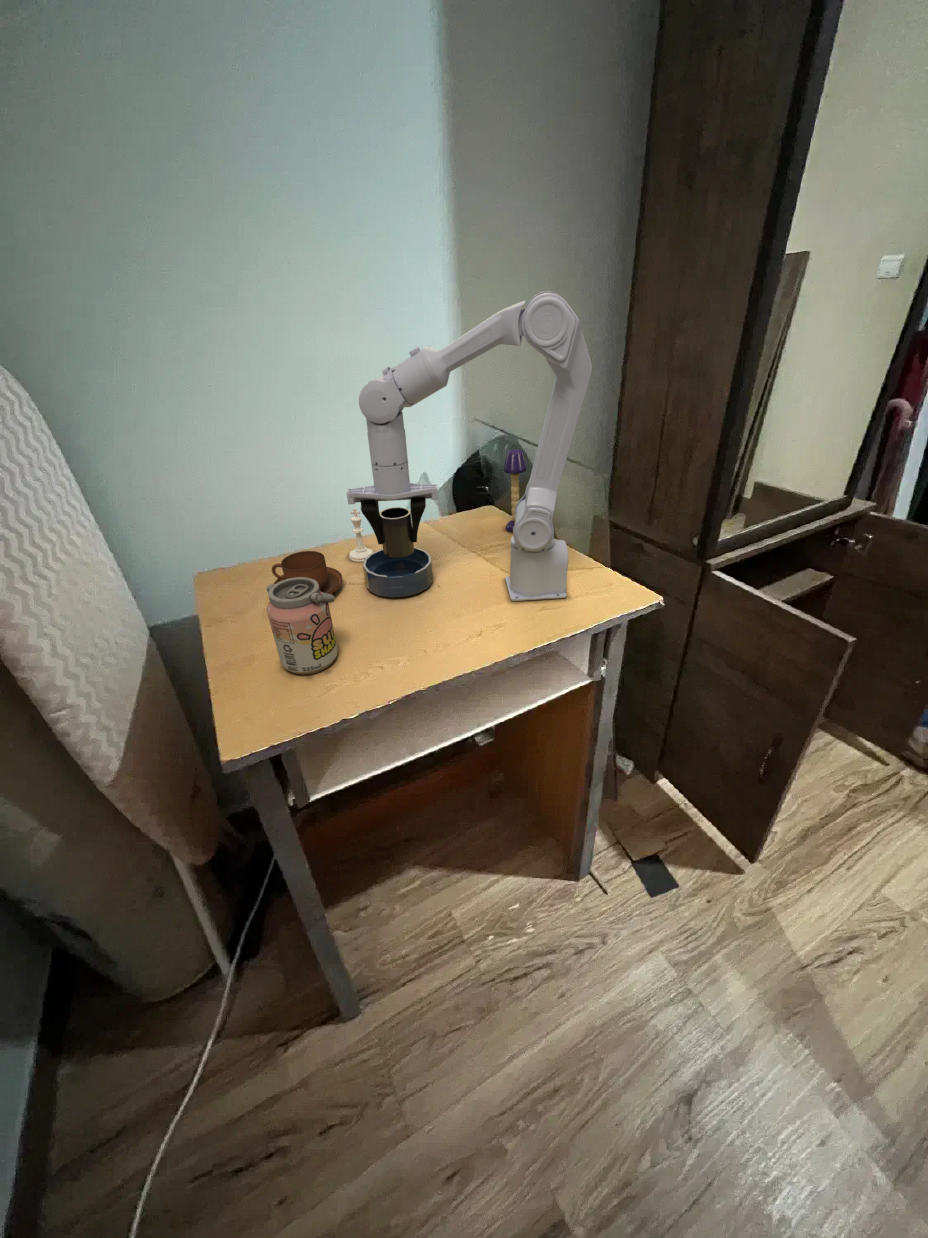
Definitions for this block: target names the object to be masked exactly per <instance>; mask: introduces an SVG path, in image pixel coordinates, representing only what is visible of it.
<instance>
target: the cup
mask: <svg viewBox="0 0 928 1238" xmlns="http://www.w3.org/2000/svg"><path fill="white" fill-rule="evenodd" d="M379 521H380V529H381V536H382V544H381V545H382V549H383V551H384V554H385V555H386V556H388V557H391V558H402V557H406V556H409V555H411V554H412V553H413V552H414V547H415V542H413V539H412V518H411V509H410V508H407V507H402V506H393V507H387V508H384V509H382V510H380V511H379Z"/></svg>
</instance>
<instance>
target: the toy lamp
mask: <svg viewBox="0 0 928 1238" xmlns="http://www.w3.org/2000/svg"><path fill="white" fill-rule="evenodd" d="M526 471H527V464H526V459H525V456H524V452H523V450H522V449H520V448H512V449H509V450H508V451H507V452H506V456H505V461H504V466H503V472H504V473H505V474H507V475H508V474H509V475H510V478H511V479H510V485H511V487H510V491H511V492H510V493H511V495H510V499H511V502H510V505H511V520H508V522H507V523H506V524H505V525H506V526H505V530H506V531H507V532H508V533H513V529H514V526H515V507H516V505H517V503H518V502H519V500H520V486H519V485H520V478H519V477H520V474H524V473H525V472H526Z"/></svg>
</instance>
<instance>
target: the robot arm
mask: <svg viewBox="0 0 928 1238" xmlns="http://www.w3.org/2000/svg"><path fill="white" fill-rule="evenodd" d="M526 301H527V300H526V299H525V300H522V301H520V302H517V303H515V304H513V305H510V306H508V307H505V308H502V309H501V310H499V311H497V312H495V313H494V314H493V315H491V316H489V317H488V318H487V319H485V320H484V321H482V322H481V323H479V324H478V325H476V326H474V327H473V328H471V329H470V330H468V331H467V332H465V333H464V334H462V335H461V336H459V337H458V338H456V339H454V340H453V341H452V342H450V343H449V344H448V345H445V346H444V347H443V348H441V349H437V348H435V347H434V348H433V347H431V346H424V347H423V348H420V347H419V346H416V347H414V348H413V349H412V350H410V351H409V352H408V353H409V357H407V358H406V359H404V360H401V362H399V363H397V364H396V365H394V366H393V367H392V368H391V367H390V366H386V367H385V368H383V369H382V370H381V374H382V375H380V376H377V377H375V378H374V379H371V380H369V381H368V382H367V383H366V384H365V385H364V386H363V387H362V389H361V390H360V393H359V395H358V406H359V410H360V412H361V414H362V415H363V416H364V417H365V421H366V426H367V427H366V428H367V441H368V448H369V449H368V451H369V457H370V464H371V472H372V477H373V478H372V479H373V484H372V485H368V486H361V487H353V488H348V489H347V491H346V498H347V504H348V505H355V504H356V503H360V511H361V512H360V513H361V514H362V516H364V518H365V519H366V520H367V521H368V524H369V525H370V527H371V529H372V531H373V533H374V535H375V537H376V541H377V544H378V545H382V536H381V529H380V521H379V512H380V505H379V504H380V503H379V502H391V501H392V502H393V501H409V500H410V501H409V510H411V520H412V539H413V542H414V543H418V532H419V527H420V523H421V521H422V517H423V515H424V513H425V509H426V505H427V503H426V501H427V499H428V500H429V499H430V500H433V501H437V500H439V489H438V488H439V487H438V484H437V483H436V484H435V483H434V484H433V483H432V484H429V483H412V482H411V481H410V470H409V458H408V448H407V447H408V446H407V436H406V435H407V434H406V429H405V422H404V412H403V411H404V409H405V408H411V407H413V406H414V405H417V404H418V403H420V402H423V400H425V399H427V398H428V397H430V396H432V395H434V394H435V393H437V392H438V391H440V390H442V389H444V388H446V387H447V386H448V383H449V379H450V374H451V372H452V371H454V370H456V369H458V368H460V367H461V366H463V365H465V364H466V363H467V364H468V363H469V362H470V361H473V360H474V359H476V358H479V357H480V356H481V355H483V354H485V353H486V352H489V351H490V350H492V349H494V348H495V347H498V346H500V345H505V346H517V347H518V346H519V347H520V346H521V345H522V340H523V337H524V339H525V340H526V342H527V343H528V344H529V346H531V347H532V348H533V349H534V350H535V351H537V352H538V353H539V354H540V355H541V356H543V357H544V358H545V359H546V362H547V364H548V365H549V367H550V368H551V370H552V372H553V373H554V375H555V377H554V380H553V381H554V382H553V385H552V389H551V392H550V396H549V399H548V400H549V401H548V404H547V409H546V413H545V416H544V421H543V424H542V430H541V432H540V436H539V440H538V444H537V448H536V452H535V456H534V460H533V464H532V468H531V471H530V476H529V478H528V479H529V480H528V481H527V484H526V487H525V491H524V493H523V495H522V496H521V498H519V502H518V503H517V505H516V507H515V526H514V529H513V532H512V536H511V538H510V564H509V565H510V567H509V569H510V570H509V576H505V577H504V581H505V585H506V588H507V592H508V595H509V599H510V601H511V602H520V601H521V602H522V601H537V600H552V599H553V600H554V599H565V598H567V582H568V571H569V570H568V569H569V550H568V545H567V542H566V541H565V539H557V538H555V536H554V535H555V529H554V524H553V517H554V513H555V510H556V509H555V508H556V502H557V495H558V491H559V487H560V483H561V481H562V476H563V473H564V470H565V466H566V463H567V459H568V456H569V452H570V449H571V447H572V446H571V445H572V441H573V439H574V436H575V431H576V429H577V425H578V421H579V418H580V414H581V410H582V407H583V405H584V400H585V397H586V393H587V390H588V386H589V383H590V379H591V376H592V374H593V373H592V372H593V365H592V360H591V357H590V353H589V350H588V346H587V343H586V339H585V335H584V332H583V329H582V325H581V321H580V318H579V317H578V315H577V314H576V313H575V312H574V310H573V309H572V307H571V306H570V304H569V303H568V302H567V301H566V299H564V297H562V296H561V295H560V294H558V293H557V292H555V291H548V290H545V291H540V292H538V293H537V294H535V295H533V296H532V297H531V298H529V301H528V302H527V303H526ZM525 304H526V305H525Z"/></svg>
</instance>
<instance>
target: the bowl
mask: <svg viewBox="0 0 928 1238" xmlns="http://www.w3.org/2000/svg"><path fill="white" fill-rule="evenodd" d="M373 552H374V553H372V554H370V555H369V556H368V557H367V558H365V559H364V561H362V571H363V576H364V577H363V578H364V585H365V586H366V588H367V590H368V591H369V592H371V593H373V594H374V595H376V596H380V597H387V598H405V597H409V596H413V595H416V594H419V593H421V592H423V591H425V590H426V589H428V588H429V587H430V585H431V584H432V583H433V581H434V574H433V561H432V555H431V554H430V553H429V552H428V551H427V550H425V549H422V548H419V547H416V546H414V552H413V553H412V554H411V555H409V556H406V557H402V558H391V557H388V556H386V555H385V554H384V551H383V548H381V549H380V548H379V549H378V550H376V551H373Z"/></svg>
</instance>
